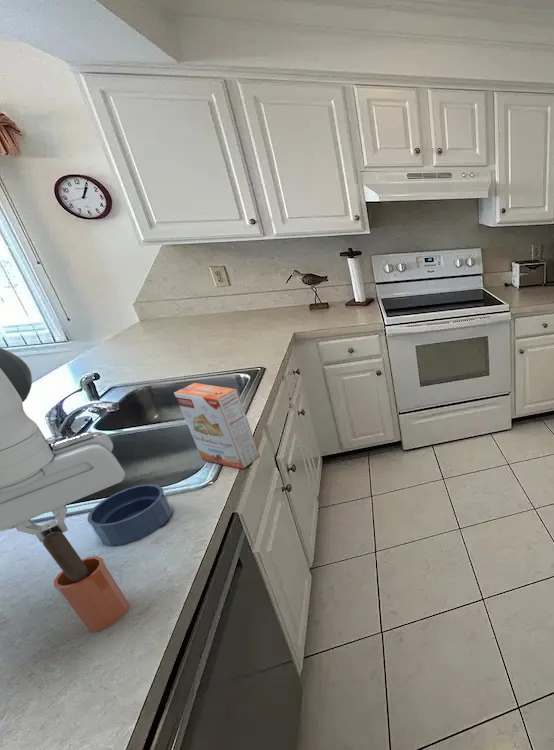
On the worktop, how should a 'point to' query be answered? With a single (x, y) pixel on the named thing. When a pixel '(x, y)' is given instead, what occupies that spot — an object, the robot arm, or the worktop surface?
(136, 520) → the bowl
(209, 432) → the cracker box
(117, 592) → the crock
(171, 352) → the worktop surface
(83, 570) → the stick
